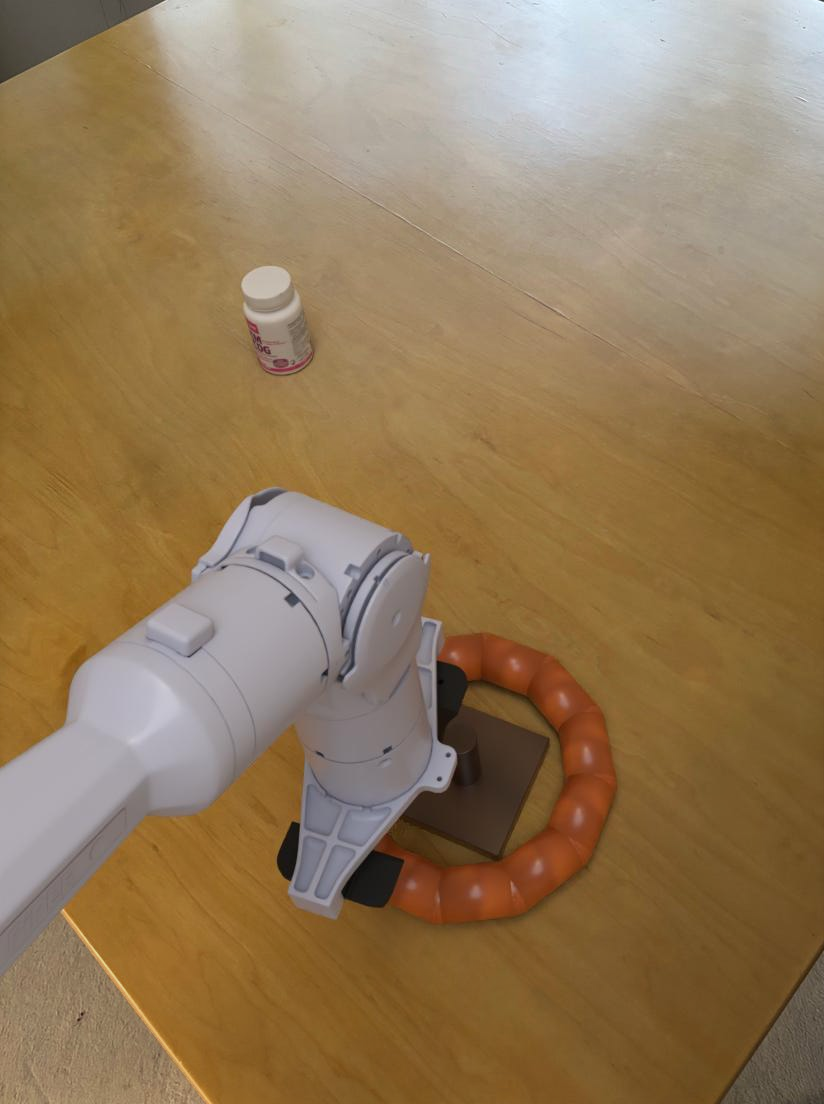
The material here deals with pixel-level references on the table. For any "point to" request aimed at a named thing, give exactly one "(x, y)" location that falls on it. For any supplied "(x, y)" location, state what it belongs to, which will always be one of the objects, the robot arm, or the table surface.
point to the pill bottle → (276, 320)
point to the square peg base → (482, 783)
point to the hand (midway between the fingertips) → (394, 821)
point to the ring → (574, 815)
